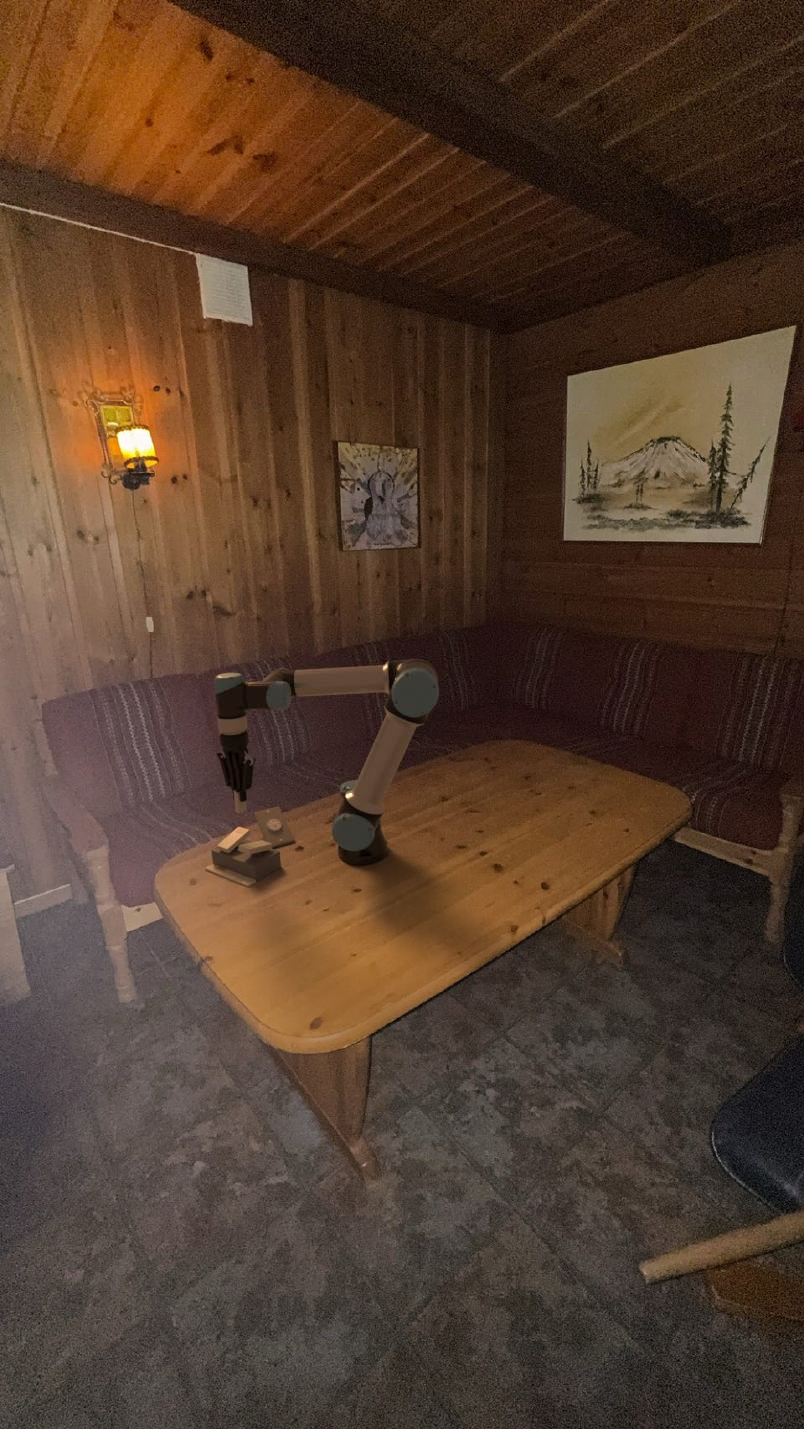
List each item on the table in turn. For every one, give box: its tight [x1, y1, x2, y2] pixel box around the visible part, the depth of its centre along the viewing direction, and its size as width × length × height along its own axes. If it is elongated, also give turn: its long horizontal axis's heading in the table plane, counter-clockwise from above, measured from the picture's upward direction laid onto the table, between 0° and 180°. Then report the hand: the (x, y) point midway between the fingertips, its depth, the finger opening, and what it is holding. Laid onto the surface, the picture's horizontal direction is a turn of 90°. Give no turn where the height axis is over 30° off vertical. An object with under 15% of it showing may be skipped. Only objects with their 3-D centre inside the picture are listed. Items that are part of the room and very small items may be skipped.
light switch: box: [253, 806, 295, 849], centre depth 201 cm, size 8×6×14 cm
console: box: [204, 838, 282, 888], centre depth 183 cm, size 18×13×6 cm
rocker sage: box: [238, 839, 273, 855], centre depth 180 cm, size 4×9×2 cm, turn 147°
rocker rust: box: [216, 826, 251, 853], centre depth 185 cm, size 4×9×2 cm, turn 147°
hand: (241, 811), depth 174 cm, fingers closed
